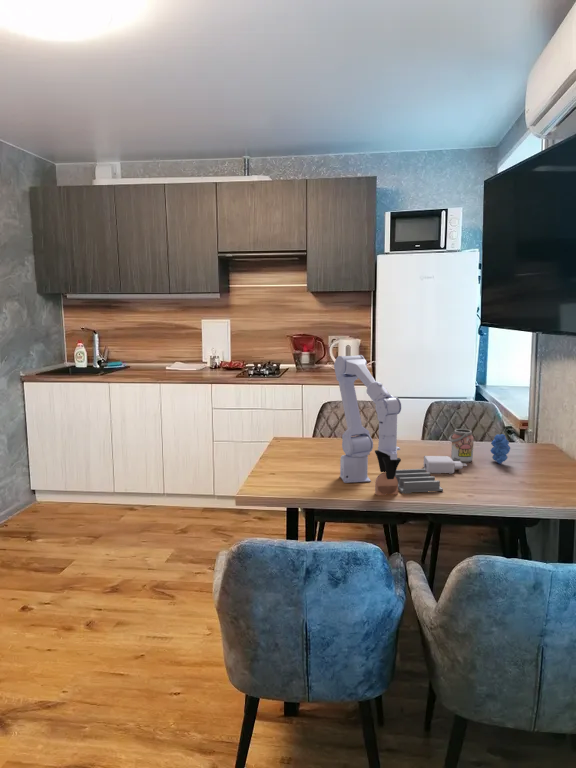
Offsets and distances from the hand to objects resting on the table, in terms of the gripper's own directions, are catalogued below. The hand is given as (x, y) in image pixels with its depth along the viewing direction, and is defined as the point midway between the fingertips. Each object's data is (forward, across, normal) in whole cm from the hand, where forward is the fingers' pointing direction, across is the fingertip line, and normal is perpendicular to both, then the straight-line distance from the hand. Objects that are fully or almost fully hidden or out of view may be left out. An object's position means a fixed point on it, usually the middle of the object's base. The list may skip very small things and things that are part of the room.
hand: (386, 475), depth 179 cm
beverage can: (+6, +34, -40) cm, 53 cm away
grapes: (+6, +28, -54) cm, 61 cm away
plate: (+6, 0, 0) cm, 6 cm away
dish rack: (+6, +7, -12) cm, 15 cm away
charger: (+7, +22, -29) cm, 37 cm away
